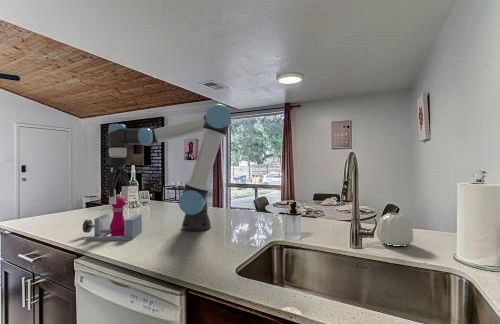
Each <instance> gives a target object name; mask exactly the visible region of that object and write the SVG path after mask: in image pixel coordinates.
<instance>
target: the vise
mask: <svg viewBox="0 0 500 324" xmlns="http://www.w3.org/2000/svg"><path fill="white" fill-rule="evenodd" d="M142 215H143V214H139V213H137V214H133V215H132V216H130V217H128V218H125V219H124V220H125V230H124V231H125V236H111V235H109V236H106V235H104V236H97V237H95V236H86V238H85V241H86V242H87V241H88V242H98V241H99V242H102V241H104V242H106V241H105V240H120V241H130V240H134V239H135V238H136V237H138V236H139V235H140V234H142V232H143V216H142ZM110 232H112V231H111V230H110Z"/></svg>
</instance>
